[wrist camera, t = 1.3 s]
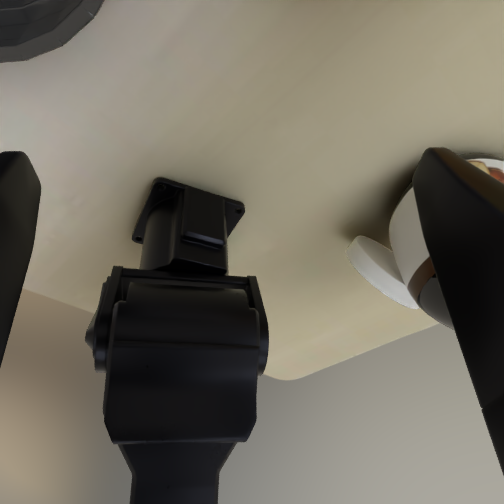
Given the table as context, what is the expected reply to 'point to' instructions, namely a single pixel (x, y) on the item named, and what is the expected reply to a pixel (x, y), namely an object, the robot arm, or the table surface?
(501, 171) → the spread jar
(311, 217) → the table surface
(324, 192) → the table surface
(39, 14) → the pan
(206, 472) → the robot arm
